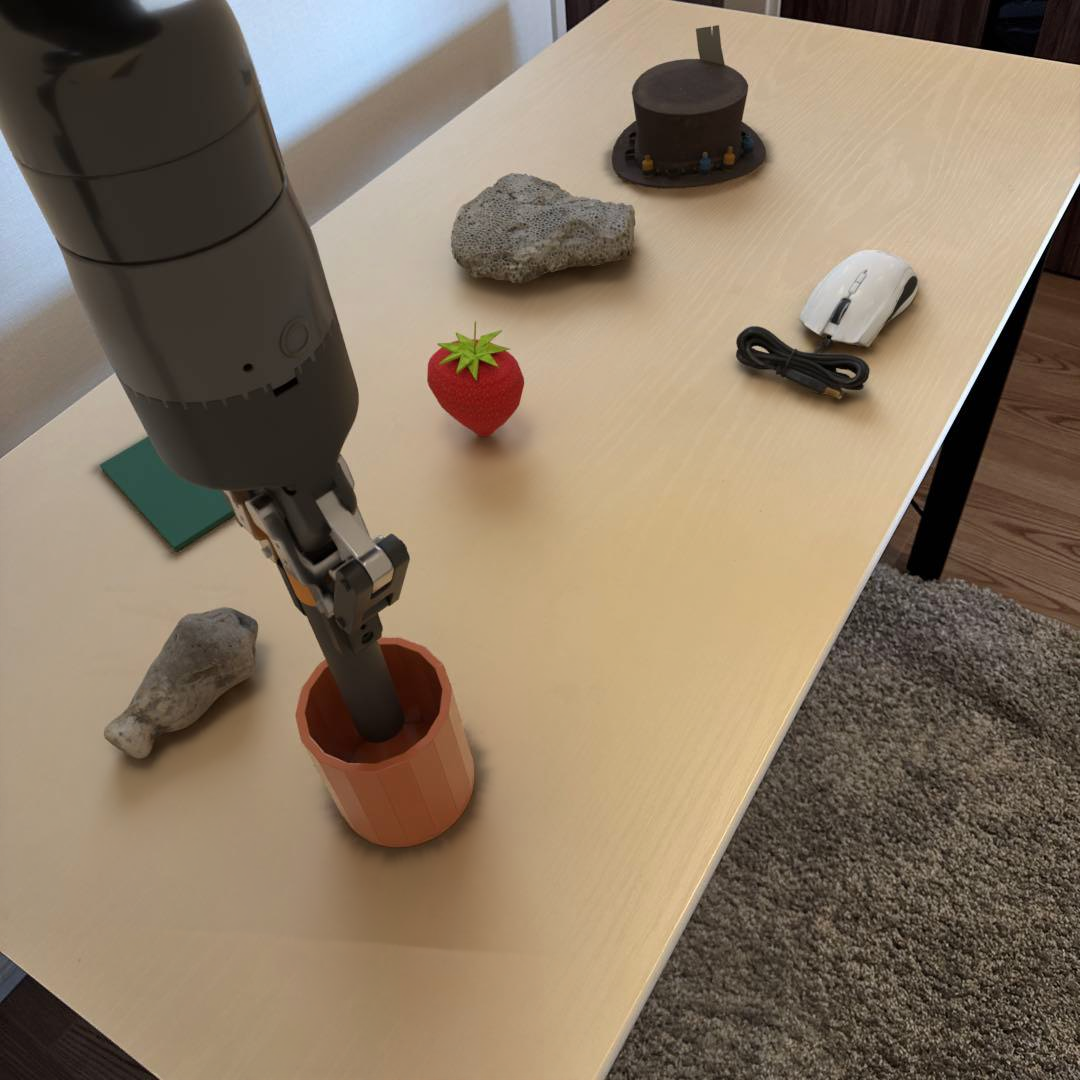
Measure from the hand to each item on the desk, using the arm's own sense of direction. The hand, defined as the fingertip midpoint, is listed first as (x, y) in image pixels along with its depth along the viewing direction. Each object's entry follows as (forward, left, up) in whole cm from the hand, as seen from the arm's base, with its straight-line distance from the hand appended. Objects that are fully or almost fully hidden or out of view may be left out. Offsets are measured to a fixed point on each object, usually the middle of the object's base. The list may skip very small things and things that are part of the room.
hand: (340, 621), depth 47 cm
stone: (-6, +14, -16) cm, 22 cm away
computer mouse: (+50, +7, -16) cm, 53 cm away
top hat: (+61, +34, -16) cm, 72 cm away
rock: (+41, +33, -16) cm, 55 cm away
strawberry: (+22, +19, -16) cm, 33 cm away
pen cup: (0, 0, -16) cm, 16 cm away
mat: (+5, +32, -16) cm, 36 cm away
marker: (0, 0, -9) cm, 9 cm away
